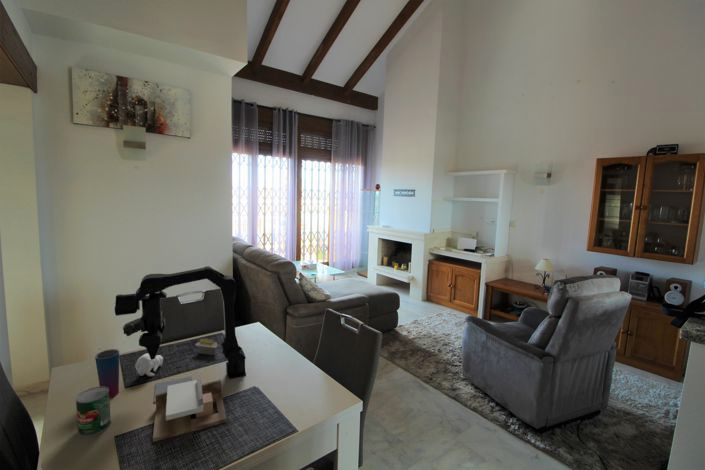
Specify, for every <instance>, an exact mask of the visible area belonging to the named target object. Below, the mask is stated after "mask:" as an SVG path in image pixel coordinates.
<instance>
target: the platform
mask: <svg viewBox="0 0 705 470" xmlns="http://www.w3.org/2000/svg"><path fill="white" fill-rule="evenodd" d="M195 346H197V347H198V354H203V355H209V356H216V348H217V347H218V343H217V341H215V340H214V339H209V338H201V339H200V340H199V341H198V342H196V343H195Z"/></svg>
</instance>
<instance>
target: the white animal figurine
mask: <svg viewBox="0 0 705 470" xmlns="http://www.w3.org/2000/svg"><path fill="white" fill-rule="evenodd" d="M163 361H164V357H163V356H162V355H159V354H158V355H157V354H156V357H155V359H152V360H151V358H150V356H149V353H148V352H147V353H144V354H143V355H141V356H140V357H139V358H137V360H136V363H135V364H134V366H135V370H136V371H137V374H138V375H139V376H141V377H142V376H144V375H146V376H147V377H155V376H156V374H155V373H154V372H156V371H157V369H158V367H162V365H163V364H164V363H163ZM152 369H153V372H151V371H152Z"/></svg>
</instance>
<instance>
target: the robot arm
mask: <svg viewBox="0 0 705 470" xmlns="http://www.w3.org/2000/svg"><path fill="white" fill-rule="evenodd" d="M203 280H208V281H210V282H212V284H214V285H215V286H216V287H219V288H218V289H219V291H220V295H221V297H222V303H223V304H222V307H223V308H222V310H223V324H224V325H223V326H224V329H223V331H224V336H223V337H220V338H219V341H220V347H219V348H220V351H221V355H223V356H224V358H225V359H227V362H225V371H226V376H228V379H229V380H230V379H234V378H239V377H243V376H244V377H245V376H247V373H246V355H245V353H244V350H243V347H241V345H239V342H238V339H237V338H238V337H237V336H236V321H235V320H236V318H235V317H236V316H235V315H236V314H235V298H236V294H237V289H238V288H237V287H238V286H237V285H238V284H237V282H236V281H235V279H234V277H233V276H232V275H229V274H228V275H227V274H223V273H222V272H220V271H218V270H216V269H214V268H213V267H211V266H210V265H209V266H204V267H199V268H196V269H190V270H184V271H180V272H174V273H149V274H146V275H144V276H143V277H142V279H141V282H140V286H139V287H138V289H136V291H135V293H129V294H127V293H126V294H117V295H116V296H115V301H114V302H115V303H114V304H115V306H114V314H115V316H116V317H117V316H124V315H125V316H126V315H133V314H137V312H138V311H140V310H142V311H141V312H142V313H141V314H142V315H141V317H139V318H136V319H133V320H131V321H128V322H127V323H125V324H124V325H123V326H122V330H123V335H125V336H126V337H130V336H131V335H133V334H135V333H138V332H141V333H142V334H141V335H140V336H139V339H138V346H139V347H144V348H145V349H146V351H147V353H148V354H149V356H150V358H151V360H152V359H155V357H156V356H157V353H158V352H159V350H160V349H159V348H160V346H161V343H162V339H163V336H162V335H163V333H164V330H165V326H166V317H163V310H162V299H166V298H167V297H168V295H167V293H166V292H164V290H166V289H168V288H170V287H174V286H178V285H182V284H189V283H193V282H197V281H203Z"/></svg>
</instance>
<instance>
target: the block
mask: <svg viewBox="0 0 705 470" xmlns="http://www.w3.org/2000/svg"><path fill="white" fill-rule="evenodd" d="M213 406H214V403H213V400H212V393H207V394H203V410H204V411H202V412H198V413H195V419H196V418H200V417H204V416H208V415H212V414H214V407H213Z"/></svg>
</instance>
